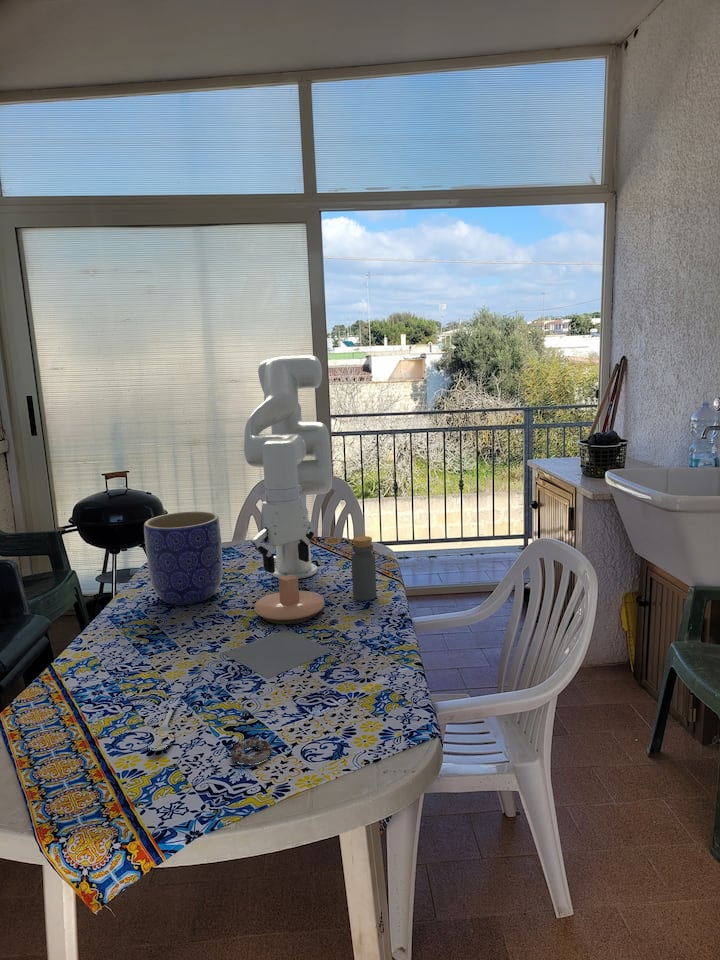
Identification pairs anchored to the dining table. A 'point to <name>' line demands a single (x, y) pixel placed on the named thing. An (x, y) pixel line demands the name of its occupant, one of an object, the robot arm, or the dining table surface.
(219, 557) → the planter
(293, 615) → the lid
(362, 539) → the bottle
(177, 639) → the dining table surface
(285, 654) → the mat
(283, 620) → the brown ring
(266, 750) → the donut
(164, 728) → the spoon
